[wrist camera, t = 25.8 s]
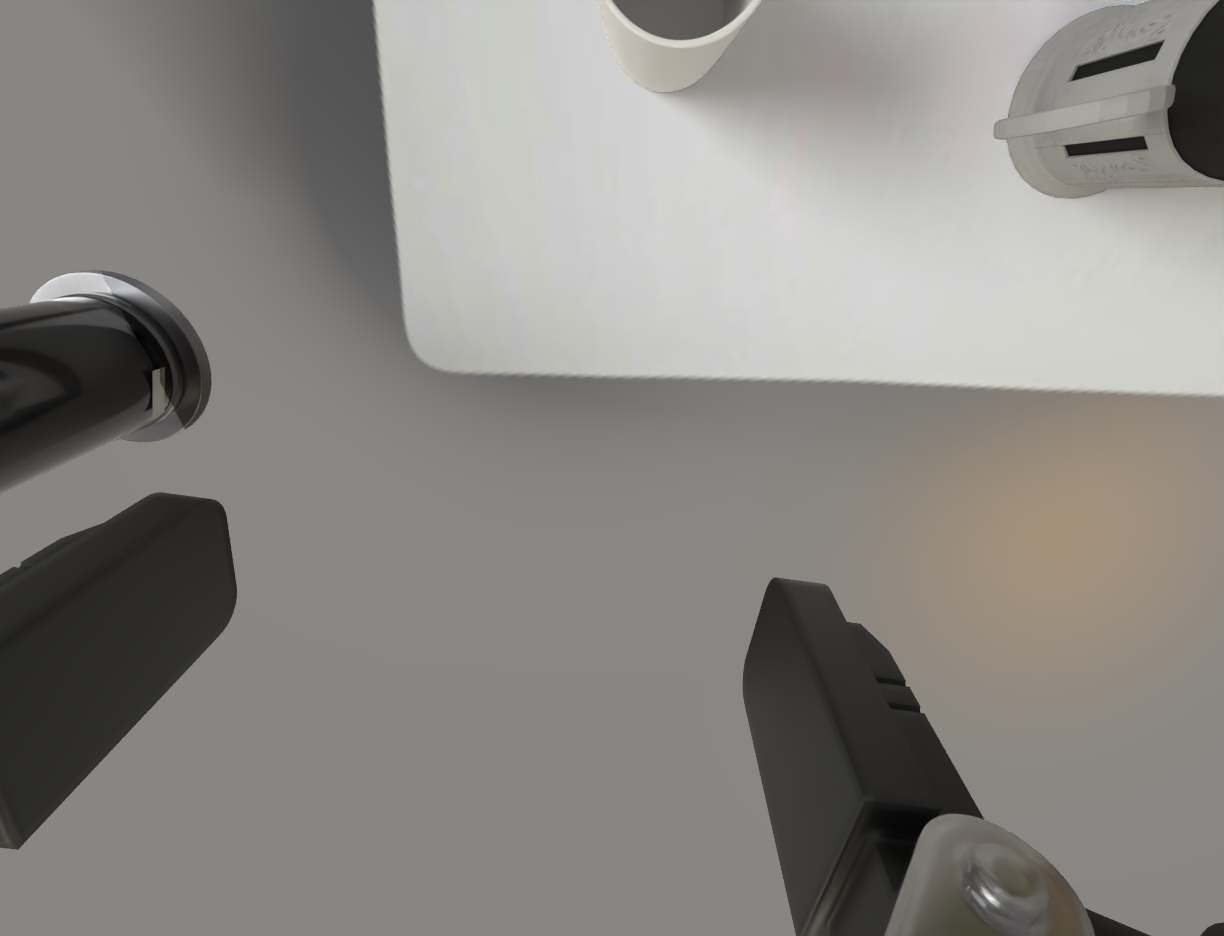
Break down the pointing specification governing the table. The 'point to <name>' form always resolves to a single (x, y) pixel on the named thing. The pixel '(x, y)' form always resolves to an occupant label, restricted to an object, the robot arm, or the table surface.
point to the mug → (671, 37)
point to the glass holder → (1123, 102)
